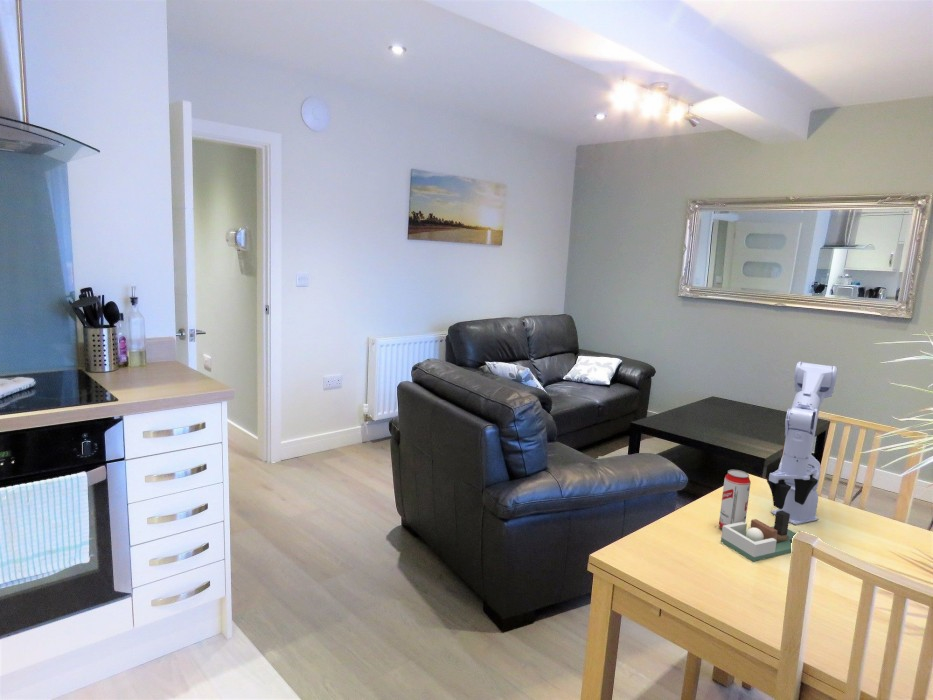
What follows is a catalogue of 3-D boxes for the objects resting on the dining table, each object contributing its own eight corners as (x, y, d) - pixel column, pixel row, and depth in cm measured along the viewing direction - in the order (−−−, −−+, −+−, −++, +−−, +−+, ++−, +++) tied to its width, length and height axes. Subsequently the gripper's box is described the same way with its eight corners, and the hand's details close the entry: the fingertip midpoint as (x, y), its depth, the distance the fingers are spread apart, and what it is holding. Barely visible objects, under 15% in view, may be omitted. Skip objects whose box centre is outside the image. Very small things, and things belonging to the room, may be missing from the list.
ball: (752, 522, 146) (741, 529, 144) (766, 529, 142) (754, 537, 141) (755, 534, 147) (743, 542, 146) (768, 542, 143) (756, 550, 142)
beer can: (738, 525, 156) (746, 469, 153) (747, 536, 150) (755, 478, 147) (715, 523, 157) (722, 467, 154) (722, 534, 150) (730, 477, 148)
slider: (772, 529, 151) (775, 506, 150) (793, 541, 145) (797, 517, 144) (749, 534, 148) (752, 511, 147) (770, 546, 142) (774, 522, 141)
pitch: (779, 528, 155) (781, 513, 154) (813, 547, 146) (816, 531, 145) (720, 541, 147) (722, 525, 146) (753, 561, 138) (755, 544, 137)
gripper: (789, 463, 138) (782, 516, 140) (831, 457, 143) (823, 507, 146) (764, 453, 144) (757, 503, 147) (805, 447, 150) (798, 496, 152)
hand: (788, 505), depth 147 cm, fingers open, 7 cm apart
